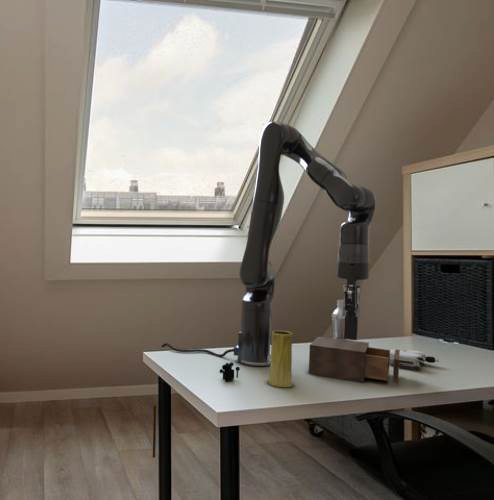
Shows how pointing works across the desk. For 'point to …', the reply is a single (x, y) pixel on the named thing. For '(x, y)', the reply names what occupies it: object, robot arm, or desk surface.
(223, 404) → the desk surface
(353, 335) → the tall brushed metal prism
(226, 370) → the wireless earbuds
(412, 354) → the robot toy
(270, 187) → the robot arm
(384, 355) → the drawer
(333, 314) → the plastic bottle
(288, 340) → the vase
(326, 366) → the cabinet
